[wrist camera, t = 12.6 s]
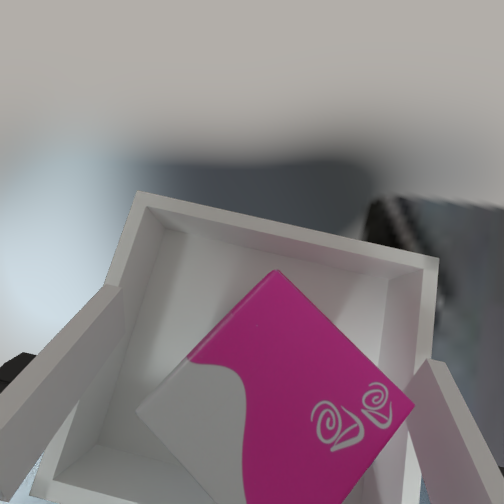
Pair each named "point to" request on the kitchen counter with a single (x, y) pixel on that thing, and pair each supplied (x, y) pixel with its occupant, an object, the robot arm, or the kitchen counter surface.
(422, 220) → the kitchen counter surface
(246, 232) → the tote
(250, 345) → the supplement box
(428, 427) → the robot arm
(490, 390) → the kitchen counter surface
